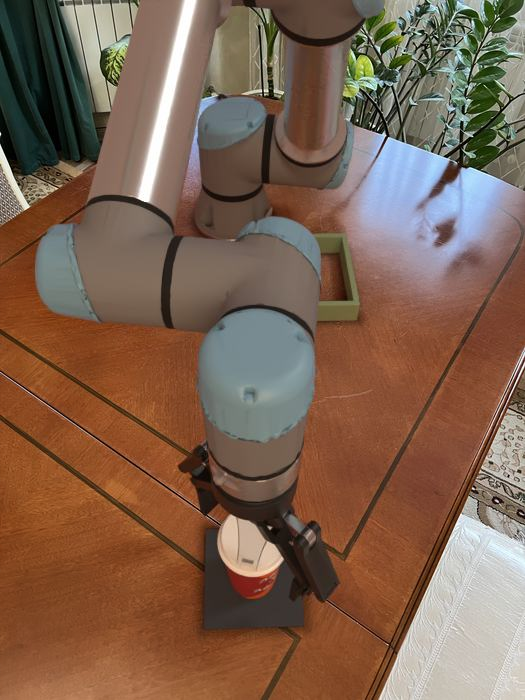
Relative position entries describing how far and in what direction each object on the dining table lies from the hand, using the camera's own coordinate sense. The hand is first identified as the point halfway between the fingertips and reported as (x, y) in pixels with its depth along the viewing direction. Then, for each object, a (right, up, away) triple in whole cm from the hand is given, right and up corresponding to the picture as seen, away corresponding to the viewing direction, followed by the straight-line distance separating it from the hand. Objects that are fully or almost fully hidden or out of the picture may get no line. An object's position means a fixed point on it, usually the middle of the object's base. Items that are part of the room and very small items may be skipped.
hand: (253, 546), depth 64 cm
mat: (0, -6, +8) cm, 10 cm away
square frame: (+8, +34, +39) cm, 53 cm away
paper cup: (0, -6, +7) cm, 10 cm away
